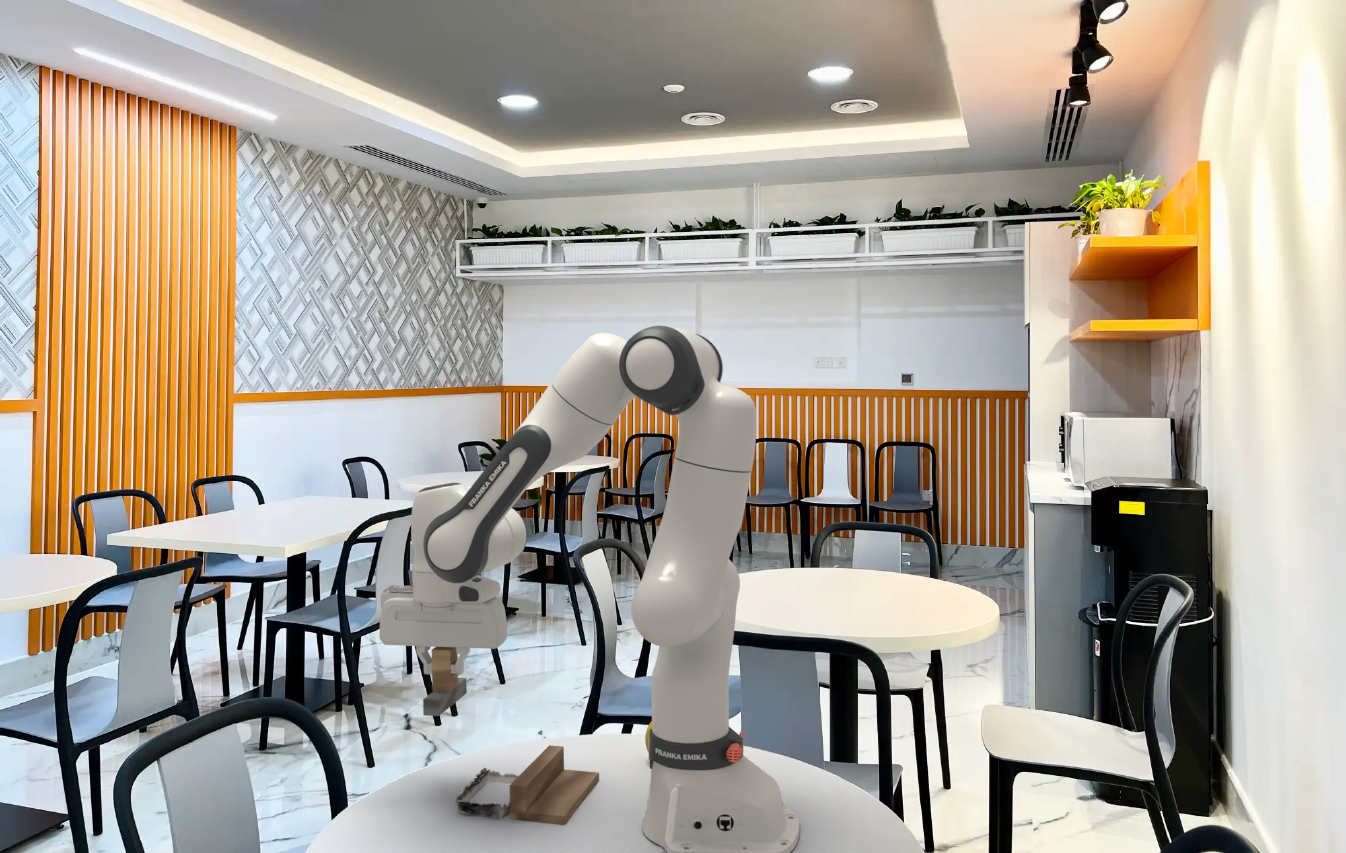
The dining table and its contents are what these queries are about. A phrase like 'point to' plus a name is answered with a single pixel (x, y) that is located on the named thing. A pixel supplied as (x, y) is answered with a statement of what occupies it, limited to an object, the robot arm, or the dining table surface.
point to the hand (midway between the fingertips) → (443, 673)
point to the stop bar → (549, 789)
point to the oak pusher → (443, 682)
